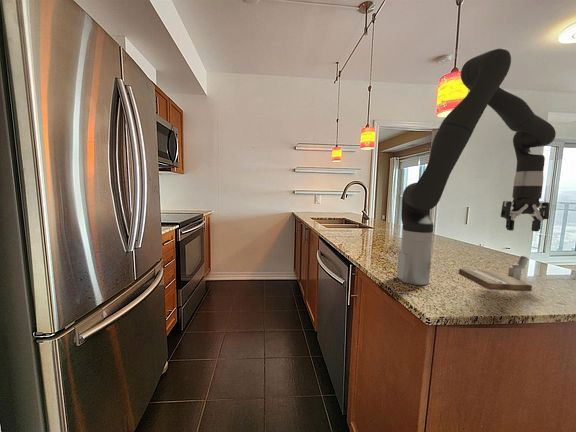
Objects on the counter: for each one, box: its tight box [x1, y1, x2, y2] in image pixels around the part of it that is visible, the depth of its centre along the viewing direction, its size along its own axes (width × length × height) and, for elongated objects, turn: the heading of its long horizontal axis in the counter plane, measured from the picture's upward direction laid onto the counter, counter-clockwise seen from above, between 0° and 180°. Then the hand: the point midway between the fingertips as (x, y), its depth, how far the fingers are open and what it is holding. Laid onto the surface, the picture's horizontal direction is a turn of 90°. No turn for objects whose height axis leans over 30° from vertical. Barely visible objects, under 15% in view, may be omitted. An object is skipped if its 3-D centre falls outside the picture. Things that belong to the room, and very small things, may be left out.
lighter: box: [507, 255, 529, 280], centre depth 93 cm, size 7×2×8 cm, turn 108°
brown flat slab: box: [458, 268, 533, 291], centre depth 90 cm, size 13×16×2 cm
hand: (522, 230), depth 92 cm, fingers open, 8 cm apart
